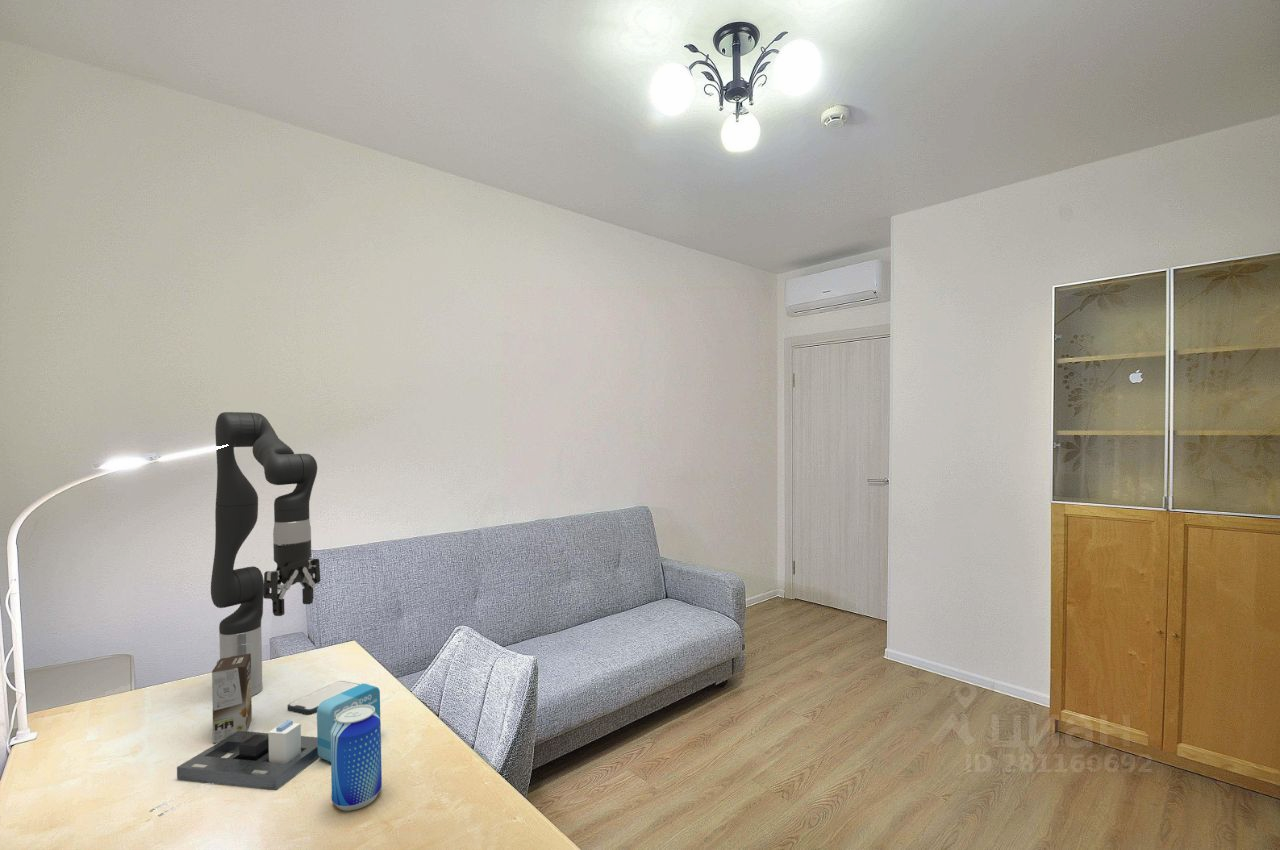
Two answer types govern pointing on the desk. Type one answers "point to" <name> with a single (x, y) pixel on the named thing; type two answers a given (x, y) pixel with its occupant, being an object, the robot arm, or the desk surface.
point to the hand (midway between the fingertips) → (293, 609)
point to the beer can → (356, 757)
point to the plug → (284, 742)
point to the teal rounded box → (335, 705)
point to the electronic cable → (177, 805)
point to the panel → (246, 762)
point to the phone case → (319, 697)
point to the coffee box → (231, 696)
